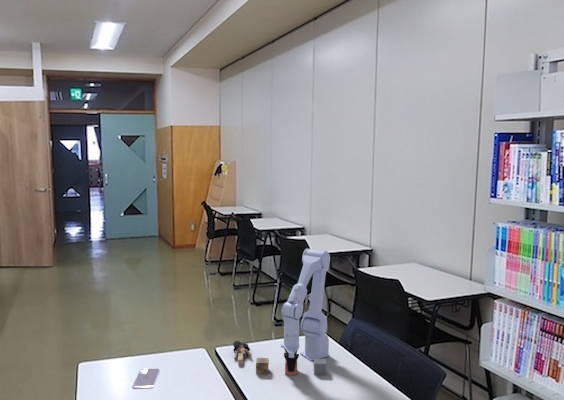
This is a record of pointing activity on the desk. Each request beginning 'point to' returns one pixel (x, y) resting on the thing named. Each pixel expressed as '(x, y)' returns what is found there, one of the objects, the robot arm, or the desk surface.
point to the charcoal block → (319, 366)
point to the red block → (290, 372)
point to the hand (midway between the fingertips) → (291, 368)
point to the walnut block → (262, 365)
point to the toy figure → (241, 351)
